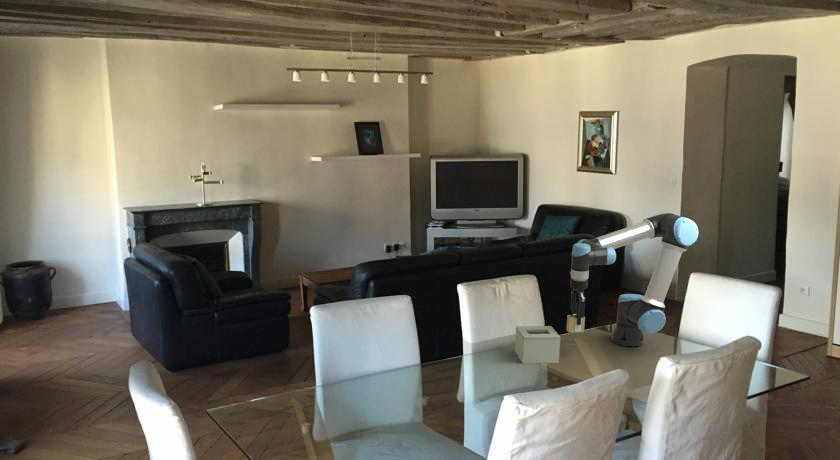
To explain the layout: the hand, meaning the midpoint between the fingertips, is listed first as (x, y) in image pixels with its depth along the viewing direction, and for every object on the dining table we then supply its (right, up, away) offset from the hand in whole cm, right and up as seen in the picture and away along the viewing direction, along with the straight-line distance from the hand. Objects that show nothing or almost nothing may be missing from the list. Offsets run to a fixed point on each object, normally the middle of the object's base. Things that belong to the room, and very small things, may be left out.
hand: (576, 329), depth 319 cm
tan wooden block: (0, -1, 0) cm, 1 cm away
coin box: (-18, -12, 0) cm, 21 cm away
